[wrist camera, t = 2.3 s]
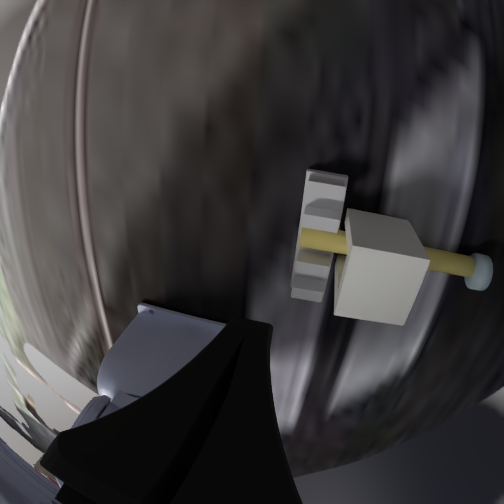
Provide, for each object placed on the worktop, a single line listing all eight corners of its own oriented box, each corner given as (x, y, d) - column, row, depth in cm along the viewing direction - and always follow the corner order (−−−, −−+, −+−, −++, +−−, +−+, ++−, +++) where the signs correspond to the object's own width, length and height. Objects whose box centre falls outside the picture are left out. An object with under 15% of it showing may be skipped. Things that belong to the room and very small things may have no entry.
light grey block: (334, 266, 20) (333, 315, 15) (347, 208, 18) (352, 245, 13) (391, 276, 19) (403, 325, 15) (408, 220, 17) (430, 260, 13)
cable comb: (291, 282, 21) (286, 299, 19) (307, 168, 17) (304, 176, 15) (324, 288, 21) (323, 305, 19) (347, 175, 17) (349, 184, 15)
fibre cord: (299, 247, 20) (295, 265, 18) (304, 213, 19) (301, 228, 16) (471, 278, 17) (482, 297, 15) (483, 249, 16) (497, 266, 14)
